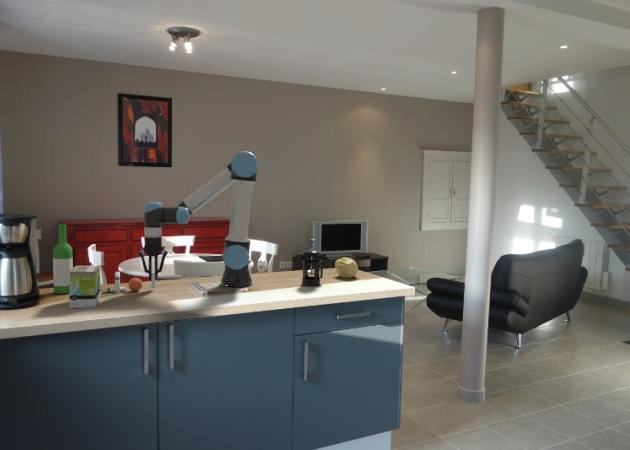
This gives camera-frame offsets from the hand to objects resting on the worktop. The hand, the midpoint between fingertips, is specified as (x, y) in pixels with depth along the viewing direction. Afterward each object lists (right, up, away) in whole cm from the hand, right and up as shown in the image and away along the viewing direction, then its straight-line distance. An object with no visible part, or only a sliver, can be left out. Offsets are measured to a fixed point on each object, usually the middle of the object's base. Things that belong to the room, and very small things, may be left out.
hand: (153, 287), depth 237 cm
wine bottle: (-37, -1, -9) cm, 38 cm away
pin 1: (-15, -1, -3) cm, 16 cm away
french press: (+73, -2, +23) cm, 76 cm away
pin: (-14, -2, -7) cm, 16 cm away
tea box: (-19, -4, -26) cm, 33 cm away
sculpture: (+91, 0, +45) cm, 102 cm away
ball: (-7, +2, -2) cm, 8 cm away
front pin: (-12, 0, -3) cm, 12 cm away
